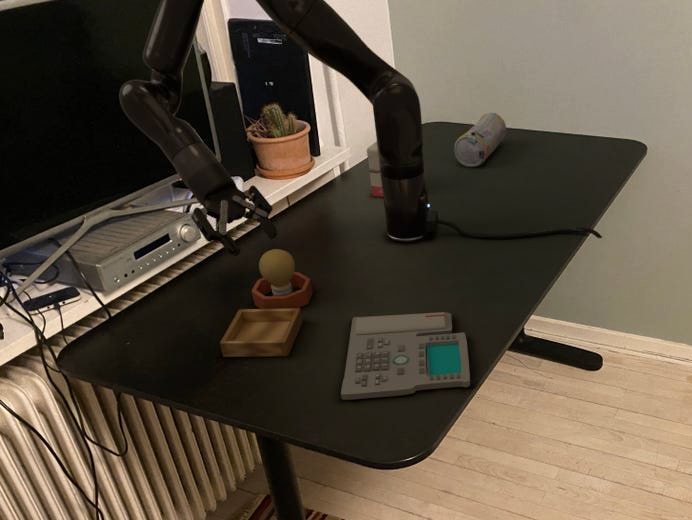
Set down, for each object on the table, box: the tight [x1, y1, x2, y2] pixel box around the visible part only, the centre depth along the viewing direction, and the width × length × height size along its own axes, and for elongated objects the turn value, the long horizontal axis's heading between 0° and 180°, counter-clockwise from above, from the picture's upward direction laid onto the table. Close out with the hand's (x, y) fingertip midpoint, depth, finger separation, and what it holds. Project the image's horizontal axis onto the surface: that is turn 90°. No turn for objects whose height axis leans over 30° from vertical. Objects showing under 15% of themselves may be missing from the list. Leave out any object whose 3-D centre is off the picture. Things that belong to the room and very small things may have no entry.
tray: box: [219, 307, 304, 358], centre depth 126 cm, size 11×11×3 cm
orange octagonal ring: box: [251, 271, 314, 309], centre depth 138 cm, size 10×10×3 cm
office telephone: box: [340, 311, 471, 401], centre depth 121 cm, size 23×3×20 cm
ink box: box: [366, 140, 383, 198], centre depth 179 cm, size 9×5×12 cm, turn 161°
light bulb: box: [258, 248, 296, 296], centre depth 136 cm, size 6×6×10 cm
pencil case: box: [453, 112, 507, 168], centre depth 198 cm, size 21×9×10 cm, turn 160°
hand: (256, 245), depth 135 cm, fingers open, 8 cm apart
